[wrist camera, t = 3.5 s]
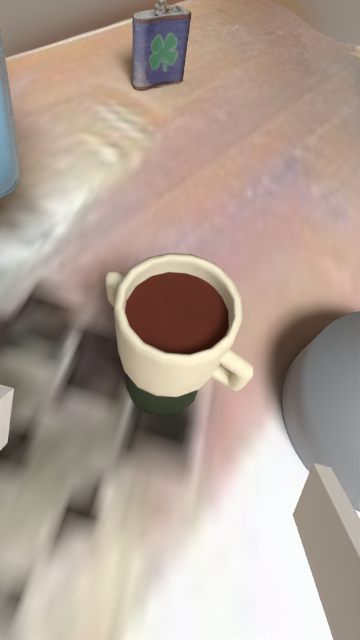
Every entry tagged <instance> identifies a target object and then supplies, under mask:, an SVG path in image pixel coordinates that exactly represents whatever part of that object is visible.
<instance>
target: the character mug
mask: <svg viewBox="0 0 360 640" xmlns="http://www.w3.org/2000/svg"><path fill="white" fill-rule="evenodd" d="M105 286H106V294H107V299H108V301H109V303H110V304H111V305H112V306H114V317H115V327H116V336H117V346H118V352H119V355H120V359H121V362H122V365H123V369H124V371H125V372H126V373H127V389H128V391H129V393H130V395H131V397H132V400H133V402H134V403H135V404H136V405H138V406H139V407H140V408H141V409H143V410H144V411H145V412H147V413H149V414H155V415H160V416H167V415H171V414H175V413H178V412H181V411H183V410H184V409H185V408H186V407H187V406H188V405H190V404H191V403H192V402H193V401H194V399H195V396H196V394H197V391H198V389H200V388H201V387H202V386H203V385H204V384H205V383H206V382H208V381H209V380H210V379H211V378H212V377H213V378H214V379H215V380H217V381H218V382H220V383H221V384H222V385H224V386H225V387H227V388H228V389H230V390H232V391H234V392H235V391H239V390H240V389H242V388H243V387H244V386H245V385H246V384H247V383H248V382H249V380H250V379H251V378H252V377H253V366H252V365H251V364H250V363H249V362H247V361H246V360H244V359H243V358H242V357H240V356H239V355H237V354H236V353H234V352H233V351H231V350H230V348H231V346H232V344H233V342H234V339H235V337H236V335H237V332H238V330H239V327H240V325H241V322H242V305H241V297H240V295H239V293H238V291H237V288H236V286H235V284H234V282H233V280H232V279H231V278H230V277H229V276H228V275H227V274H226V273H225V271H224V270H222V269H221V268H220V267H219V266H217V265H216V264H214V263H212V262H211V261H209V260H207V259H204V258H201V257H198V256H195V255H192V254H179V253H168V254H163V255H158V256H154V257H149V258H147V259H146V260H144V261H142V262H140V263H139V264H137V265H135V266H134V267H132V268H130V269H129V271H128V272H127V274H126V275H125V276H122V275H121V274H119V273H117V272H115V271H111V272H108V274H107V276H106V279H105ZM220 364H223V365H224V366H226V367H227V368H228V369H230V370H231V371H233V372H234V374H233V373H231V372H230V371H229V370H227V369H226V368H224V367H223V366H222V365H220Z"/></svg>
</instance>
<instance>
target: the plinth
mask: <svg viewBox="0 0 360 640" xmlns="http://www.w3.org/2000/svg"><path fill="white" fill-rule="evenodd" d="M282 410H283V417H284V421H285V426H286V429H287V432H288V435H289V438H290V440H291V442H292V444H293V446H294V449H295V451H296V453H297V454H298V456H299V457H300V459H301V461H302V462H303V464H304V465H305V467H306V468H307V469H308V471H309V472H310V470H311V468H312V465H313V463H315V464H319V465H323V466H327V467H331V468H332V470H333V472H334V474H335V476H336V477H337V479H338V481H339V483H340V484H341V486H342V488H343V490H344V492H345V493H346V495H347V497H348V499H349V501H350V502H351V504H352V506H353V508H354V509H356V510H357V511H359V512H360V312H354V313H351V314H347V315H345V316H342V317H340V318H338V319H336V320H335V321H333V322H332V323H330V324H329V325H328V326H327V327H326V328H325V329H324V330H323V331H322V332H321V333H320V334H318V335H317V336H316V337H315V338H314V339H313V340H312V341H311V342H310V343H309V344H308V345H307V346H306V347H305V348H304V349H303V350H302V351H301V352H300V353H299V354H298V355H297V356H296V357H295V358H294V360H293V361H292V362H291V364H290V366H289V368H288V370H287V373H286V376H285V379H284V383H283V389H282Z"/></svg>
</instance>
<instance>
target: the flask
mask: <svg viewBox="0 0 360 640" xmlns="http://www.w3.org/2000/svg"><path fill="white" fill-rule="evenodd" d="M155 6H156V9H153V10H147V11H142V12H137V13H134V14H133V80H132V83H133V87H134V88H135V89H136V90H149V89H151V88H160V87H163V86H164V85H170V84H176V83H181V82H182V81H183V74H184V66H185V58H186V51H187V42H188V35H189V28H190V20H191V12H190V11H189V10H188V9H186V8H185V7H180V6H179V5H175V6H174V5H172V6H171V5H170V6H169V5H168V4H167V3H166V0H157V4H156V5H155ZM175 7H176V8H175Z"/></svg>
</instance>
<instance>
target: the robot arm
mask: <svg viewBox="0 0 360 640" xmlns="http://www.w3.org/2000/svg"><path fill="white" fill-rule="evenodd" d="M19 176H20V165H19V153H18V144H17V136H16V129H15V121H14V114H13V107H12V101H11V94H10V88H9V81H8V74H7V68H6V61H5V55H4V49H3V43H2V37H1V31H0V198H1V197H4V196H6V195H8V194H9V193H11V192H12V191H13V190H14V188H15V187H16V185H17V183H18V181H19ZM13 393H14V388H12V387H8V386H4V385H0V450H1V449H2V448H3V447H4V446H5V445H6V444H7V442H8V434H9V426H10V417H11V409H12V401H13ZM293 517H294V520H295V523H296V526H297V529H298V532H299V535H300V538H301V541H302V544H303V547H304V550H305V554H306V557H307V560H308V563H309V566H310V569H311V572H312V575H313V578H314V581H315V584H316V587H317V590H318V594H319V597H320V600H321V603H322V606H323V609H324V612H325V615H326V618H327V621H328V624H329V627H330V630H331V634H332V637H333V640H360V519H359V517H358V515H357V513H356V511H355V510H354V508H353V506H352V504H351V502H350V501H349V499H348V497H347V495H346V493H345V492H344V490H343V488H342V486H341V484H340V483H339V481H338V479H337V477H336V476H335V474H334V472H333V470H332V468H331V467H327V466H323V465H319V464H315V463H313V465H312V468H311V470H310V473H309V475H308V478H307V480H306V483H305V485H304V488H303V491H302V493H301V496H300V498H299V501H298V503H297V506H296V508H295V511H294V513H293Z"/></svg>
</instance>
